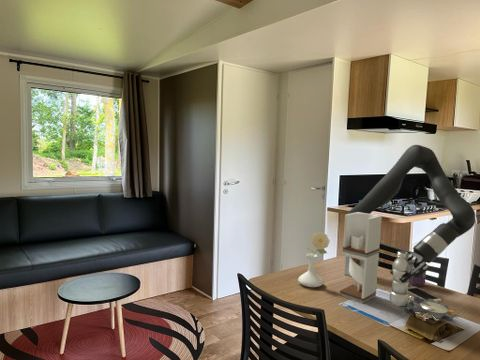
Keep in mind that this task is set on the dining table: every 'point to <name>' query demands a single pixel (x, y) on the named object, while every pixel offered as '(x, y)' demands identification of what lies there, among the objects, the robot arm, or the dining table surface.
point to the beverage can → (418, 280)
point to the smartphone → (422, 294)
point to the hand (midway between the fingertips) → (396, 277)
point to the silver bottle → (398, 288)
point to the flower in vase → (310, 276)
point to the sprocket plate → (428, 308)
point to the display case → (362, 254)
